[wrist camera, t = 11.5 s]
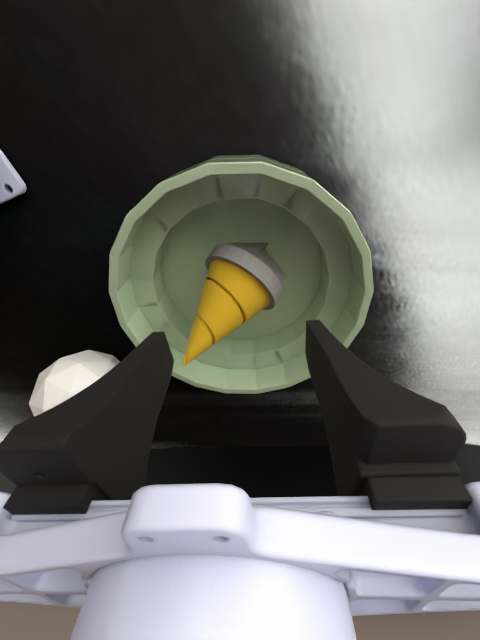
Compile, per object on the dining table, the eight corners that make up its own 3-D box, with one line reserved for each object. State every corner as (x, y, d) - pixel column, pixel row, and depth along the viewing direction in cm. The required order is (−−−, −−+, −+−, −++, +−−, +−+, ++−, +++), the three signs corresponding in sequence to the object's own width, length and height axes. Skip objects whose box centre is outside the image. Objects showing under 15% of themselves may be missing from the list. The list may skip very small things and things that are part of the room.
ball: (133, 342, 29) (164, 397, 24) (92, 399, 30) (114, 462, 25) (55, 321, 23) (75, 389, 18) (8, 393, 24) (14, 475, 19)
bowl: (192, 366, 26) (181, 409, 22) (93, 206, 18) (48, 228, 14) (357, 326, 23) (380, 368, 19) (328, 109, 15) (359, 100, 11)
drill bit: (296, 279, 21) (223, 393, 18) (237, 247, 22) (160, 351, 19) (312, 236, 16) (214, 386, 13) (234, 197, 17) (129, 329, 14)
